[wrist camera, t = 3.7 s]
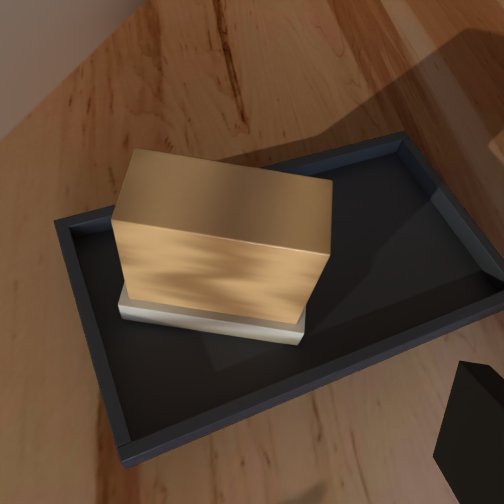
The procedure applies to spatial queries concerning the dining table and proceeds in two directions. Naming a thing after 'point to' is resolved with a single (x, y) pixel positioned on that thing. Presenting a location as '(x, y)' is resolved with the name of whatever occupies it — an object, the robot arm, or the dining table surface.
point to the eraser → (220, 245)
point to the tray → (317, 308)
